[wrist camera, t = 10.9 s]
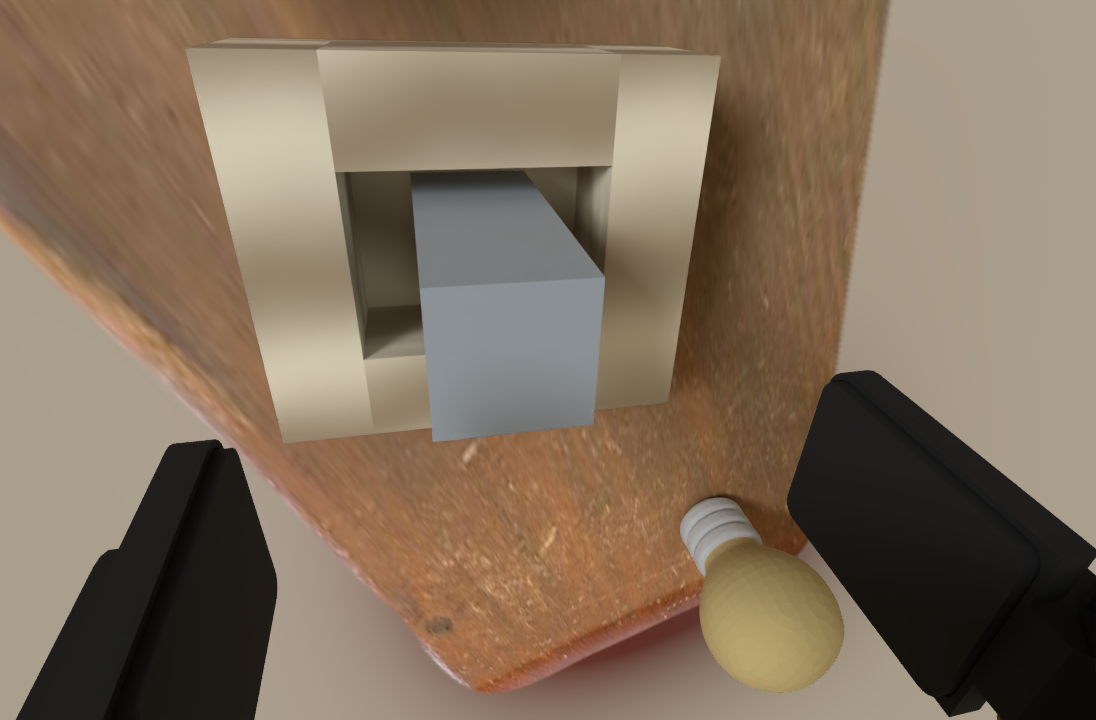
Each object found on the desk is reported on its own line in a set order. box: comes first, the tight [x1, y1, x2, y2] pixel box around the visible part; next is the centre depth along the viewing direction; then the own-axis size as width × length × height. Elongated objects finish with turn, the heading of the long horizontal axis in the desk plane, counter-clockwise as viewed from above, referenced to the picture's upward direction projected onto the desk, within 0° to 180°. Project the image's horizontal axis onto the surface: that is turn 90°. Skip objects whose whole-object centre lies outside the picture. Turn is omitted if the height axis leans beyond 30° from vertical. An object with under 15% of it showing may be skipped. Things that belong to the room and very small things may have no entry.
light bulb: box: [680, 497, 844, 693], centre depth 30 cm, size 6×6×10 cm
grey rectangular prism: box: [410, 171, 605, 442], centre depth 18 cm, size 4×4×10 cm
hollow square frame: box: [185, 38, 721, 443], centre depth 21 cm, size 12×14×5 cm
